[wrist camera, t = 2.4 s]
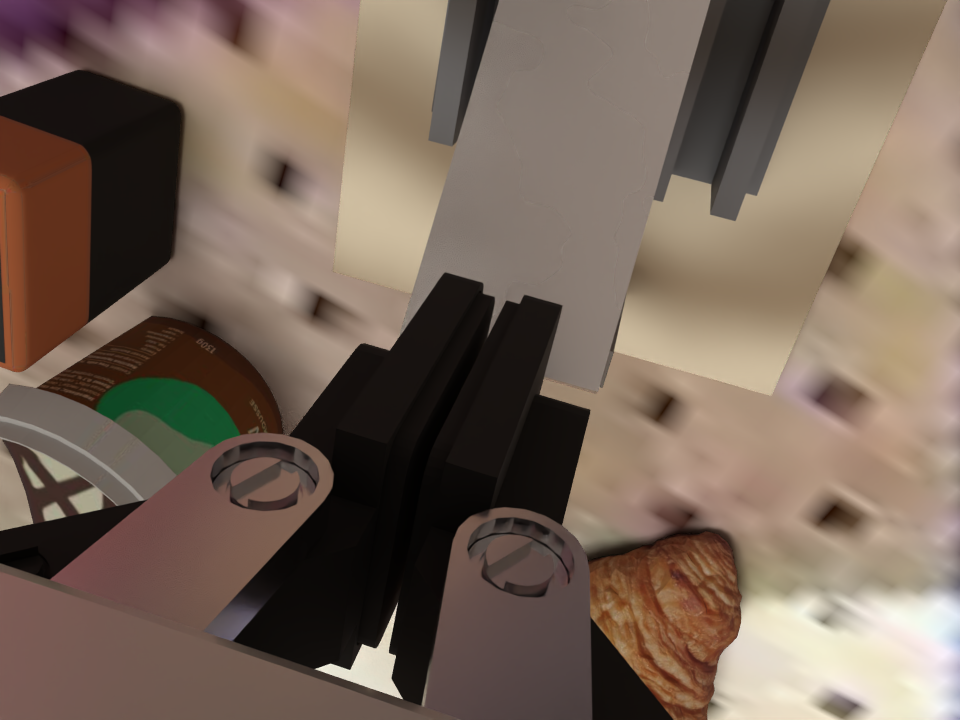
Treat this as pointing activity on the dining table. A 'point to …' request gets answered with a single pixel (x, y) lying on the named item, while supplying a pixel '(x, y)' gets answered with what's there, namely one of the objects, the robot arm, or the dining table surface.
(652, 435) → the dining table surface
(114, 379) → the food container
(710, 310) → the heatsink board
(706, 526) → the dining table surface
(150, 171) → the battery
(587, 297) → the clamp bar
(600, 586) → the pastry
